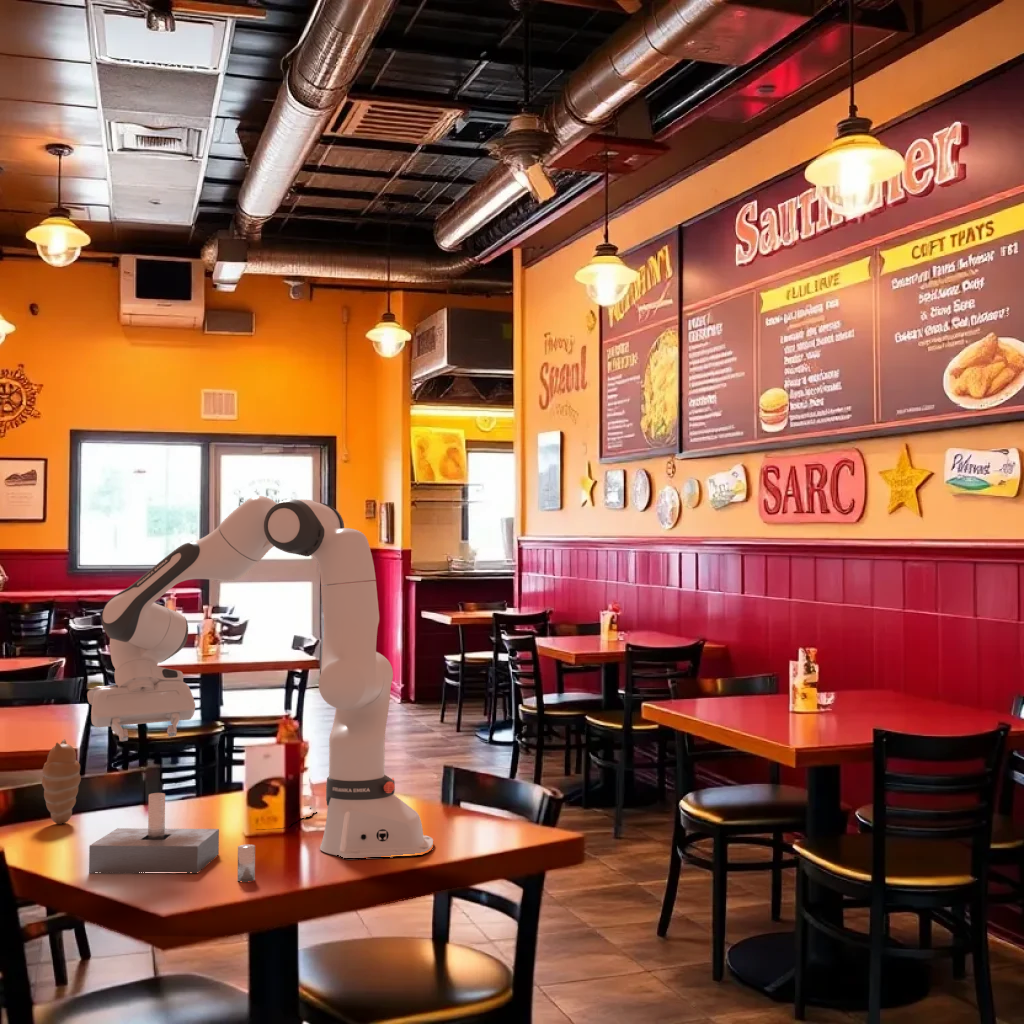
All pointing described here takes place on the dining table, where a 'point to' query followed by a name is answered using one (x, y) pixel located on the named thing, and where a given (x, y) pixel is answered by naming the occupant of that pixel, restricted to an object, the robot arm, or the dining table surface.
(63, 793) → the cat ice cream
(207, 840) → the grey peg hole block
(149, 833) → the tall pin
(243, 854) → the short pin
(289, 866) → the dining table surface
